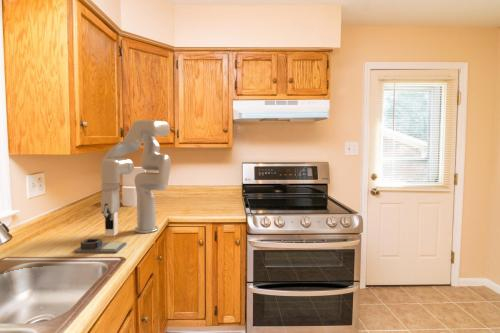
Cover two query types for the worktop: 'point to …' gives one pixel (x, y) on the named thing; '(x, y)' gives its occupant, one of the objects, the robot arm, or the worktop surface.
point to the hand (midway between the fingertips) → (111, 227)
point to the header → (99, 246)
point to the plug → (115, 226)
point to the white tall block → (130, 187)
